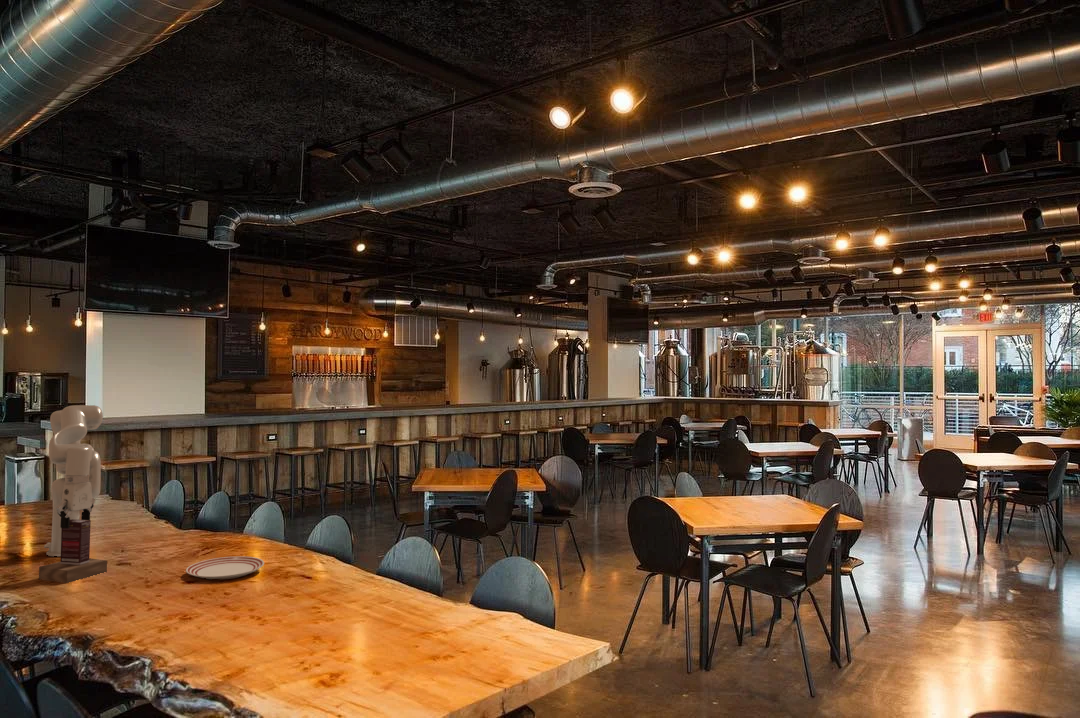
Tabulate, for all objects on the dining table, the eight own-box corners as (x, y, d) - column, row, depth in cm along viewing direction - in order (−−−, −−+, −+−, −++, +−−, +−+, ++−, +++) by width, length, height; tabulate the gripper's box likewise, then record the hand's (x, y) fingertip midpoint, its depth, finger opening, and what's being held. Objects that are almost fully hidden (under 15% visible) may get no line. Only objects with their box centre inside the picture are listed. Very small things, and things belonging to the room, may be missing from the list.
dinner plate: (235, 585, 256) (236, 576, 256) (168, 580, 262) (169, 571, 262) (278, 567, 283) (278, 558, 283) (216, 562, 289) (216, 554, 289)
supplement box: (90, 562, 268) (91, 519, 268) (79, 565, 263) (81, 522, 263) (69, 560, 269) (71, 518, 269) (59, 564, 264) (60, 521, 265)
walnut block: (38, 580, 260) (39, 566, 260) (79, 570, 275) (79, 557, 275) (67, 584, 255) (67, 570, 256) (106, 573, 271) (107, 560, 271)
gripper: (67, 483, 258) (65, 530, 257) (103, 476, 275) (101, 521, 274) (49, 482, 259) (47, 529, 258) (86, 475, 276) (84, 520, 275)
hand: (75, 525), depth 266 cm, fingers open, 9 cm apart
